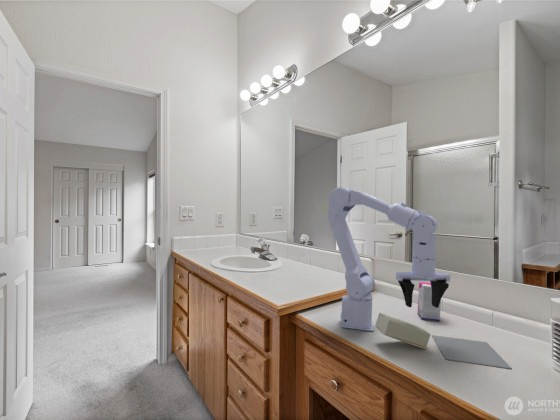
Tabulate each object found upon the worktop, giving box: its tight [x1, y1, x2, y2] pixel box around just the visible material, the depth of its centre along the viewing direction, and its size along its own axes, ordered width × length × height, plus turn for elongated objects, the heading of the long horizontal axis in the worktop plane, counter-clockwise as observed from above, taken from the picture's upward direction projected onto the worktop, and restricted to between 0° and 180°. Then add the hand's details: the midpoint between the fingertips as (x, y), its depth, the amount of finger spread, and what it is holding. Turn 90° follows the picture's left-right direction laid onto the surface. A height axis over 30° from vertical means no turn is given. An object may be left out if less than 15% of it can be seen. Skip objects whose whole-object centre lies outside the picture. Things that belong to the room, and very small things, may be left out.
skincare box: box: [374, 312, 431, 350], centre depth 79 cm, size 6×4×12 cm
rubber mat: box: [431, 334, 513, 370], centre depth 77 cm, size 14×14×1 cm
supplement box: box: [417, 281, 442, 322], centre depth 100 cm, size 6×6×12 cm
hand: (421, 306), depth 81 cm, fingers open, 7 cm apart
